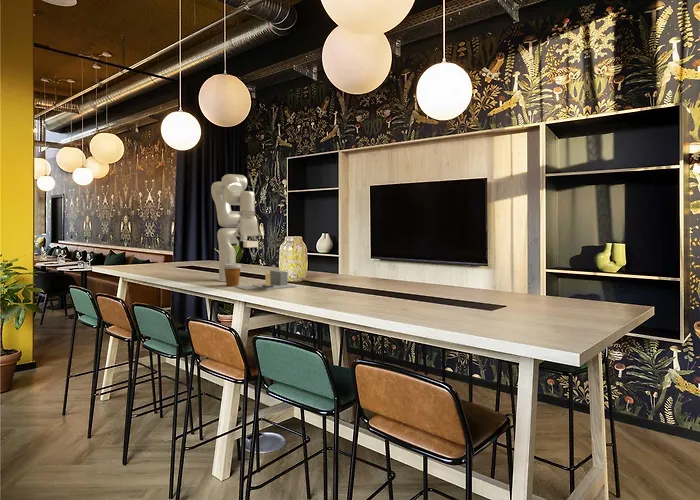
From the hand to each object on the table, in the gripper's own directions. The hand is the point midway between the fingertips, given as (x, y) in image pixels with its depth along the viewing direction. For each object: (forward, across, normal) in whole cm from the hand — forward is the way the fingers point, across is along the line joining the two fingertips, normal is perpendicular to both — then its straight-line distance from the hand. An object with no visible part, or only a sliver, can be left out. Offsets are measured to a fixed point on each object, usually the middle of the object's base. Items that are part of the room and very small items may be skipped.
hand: (247, 248), depth 246 cm
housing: (+21, +14, -4) cm, 26 cm away
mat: (+21, 0, 0) cm, 21 cm away
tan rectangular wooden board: (+19, +6, -11) cm, 23 cm away
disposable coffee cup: (+22, -3, +12) cm, 25 cm away
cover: (-1, 0, 0) cm, 1 cm away
